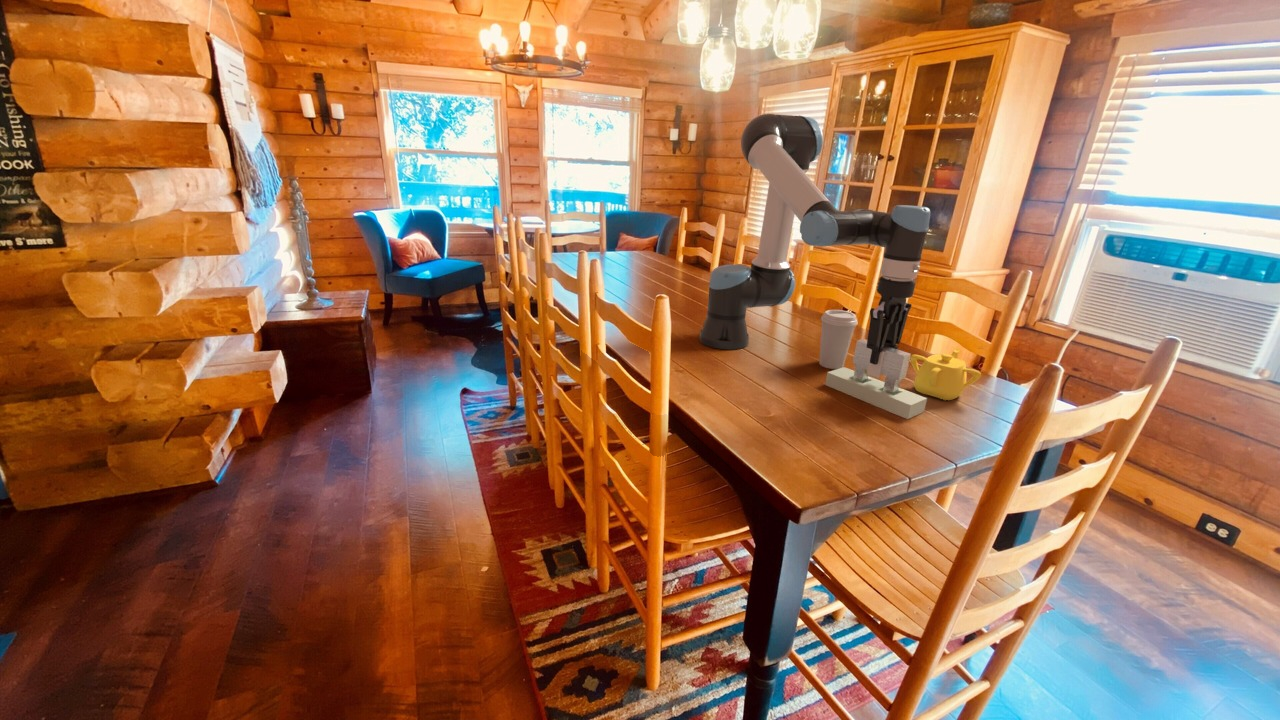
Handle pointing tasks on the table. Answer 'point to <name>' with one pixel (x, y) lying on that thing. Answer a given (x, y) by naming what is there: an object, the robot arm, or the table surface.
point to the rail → (876, 393)
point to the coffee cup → (836, 337)
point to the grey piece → (891, 365)
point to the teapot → (942, 375)
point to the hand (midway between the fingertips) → (877, 374)
